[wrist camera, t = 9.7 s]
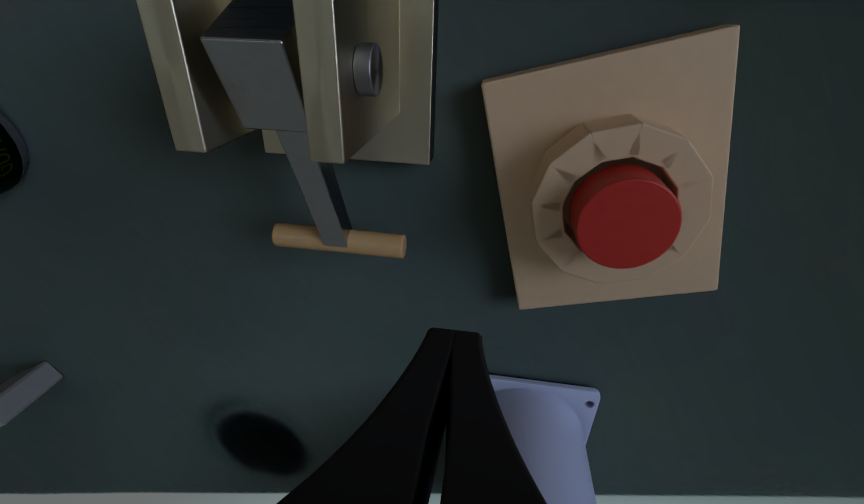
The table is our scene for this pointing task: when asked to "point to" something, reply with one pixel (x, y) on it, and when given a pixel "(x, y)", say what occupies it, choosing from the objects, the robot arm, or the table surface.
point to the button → (624, 216)
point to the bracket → (311, 77)
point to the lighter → (25, 389)
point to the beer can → (11, 156)
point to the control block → (614, 160)
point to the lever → (285, 120)
